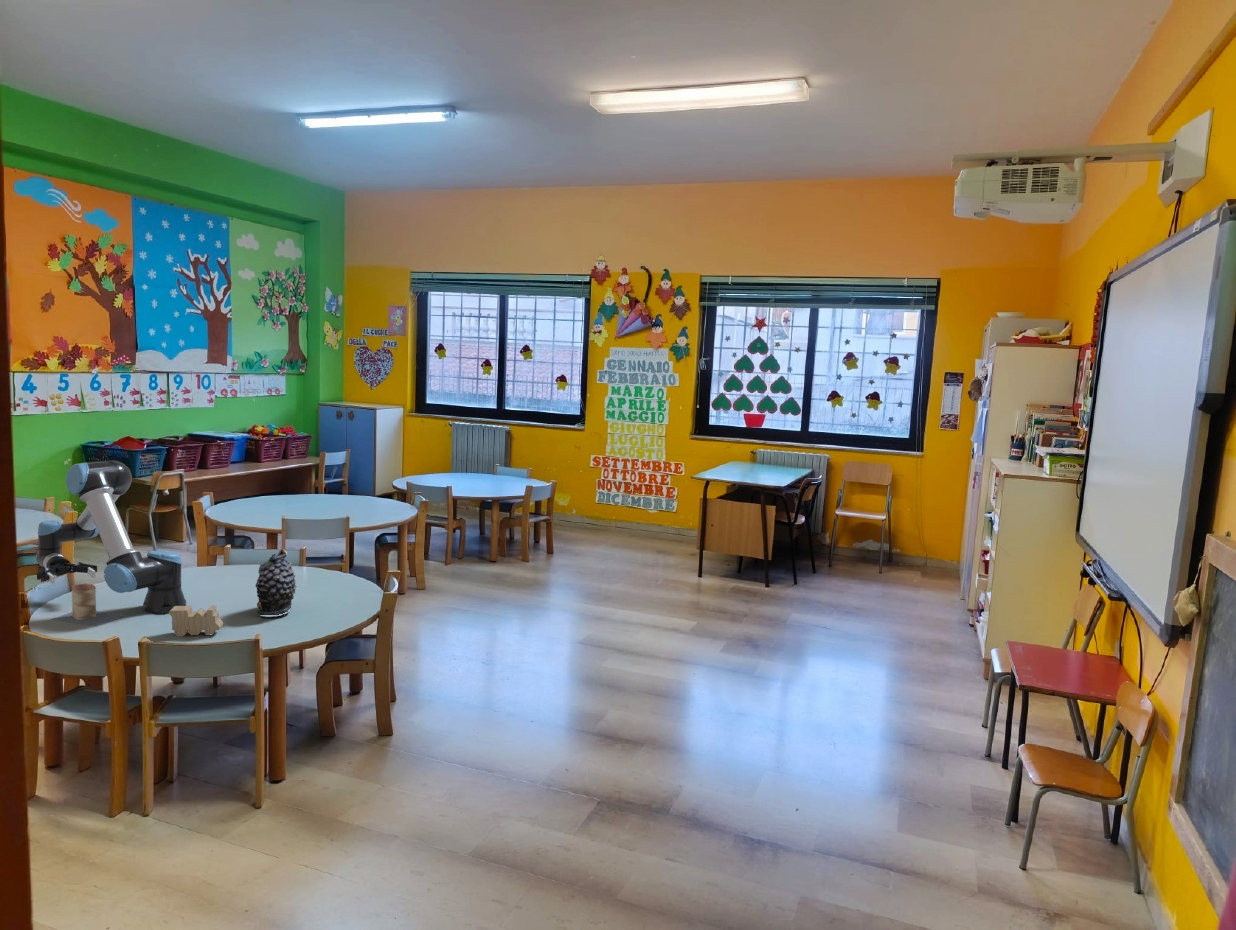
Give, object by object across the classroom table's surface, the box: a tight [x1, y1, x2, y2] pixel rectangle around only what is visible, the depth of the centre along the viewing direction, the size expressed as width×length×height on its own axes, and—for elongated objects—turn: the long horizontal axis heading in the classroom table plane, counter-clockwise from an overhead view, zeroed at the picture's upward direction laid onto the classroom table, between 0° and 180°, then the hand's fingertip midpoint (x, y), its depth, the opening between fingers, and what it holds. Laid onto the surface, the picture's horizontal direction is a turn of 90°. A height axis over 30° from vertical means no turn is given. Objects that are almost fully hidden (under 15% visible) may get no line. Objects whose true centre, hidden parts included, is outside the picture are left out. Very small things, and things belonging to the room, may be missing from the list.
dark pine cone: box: [255, 548, 297, 615], centre depth 325 cm, size 21×15×25 cm
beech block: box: [71, 582, 97, 620], centre depth 305 cm, size 6×6×12 cm
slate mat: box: [50, 610, 127, 627], centre depth 306 cm, size 20×14×1 cm
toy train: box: [168, 604, 224, 637], centre depth 297 cm, size 6×17×10 cm, turn 103°
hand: (74, 577), depth 311 cm, fingers open, 13 cm apart
